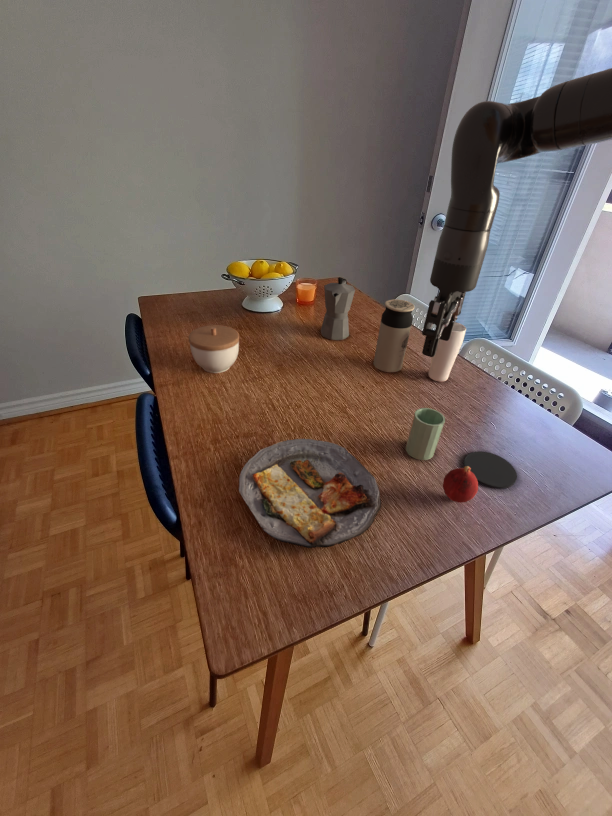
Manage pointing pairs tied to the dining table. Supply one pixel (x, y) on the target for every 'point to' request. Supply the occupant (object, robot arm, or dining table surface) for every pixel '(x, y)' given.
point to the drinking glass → (446, 354)
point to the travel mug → (393, 335)
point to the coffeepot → (337, 309)
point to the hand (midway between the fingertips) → (436, 347)
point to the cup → (424, 433)
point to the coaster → (491, 469)
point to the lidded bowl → (214, 347)
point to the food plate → (309, 493)
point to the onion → (460, 484)
